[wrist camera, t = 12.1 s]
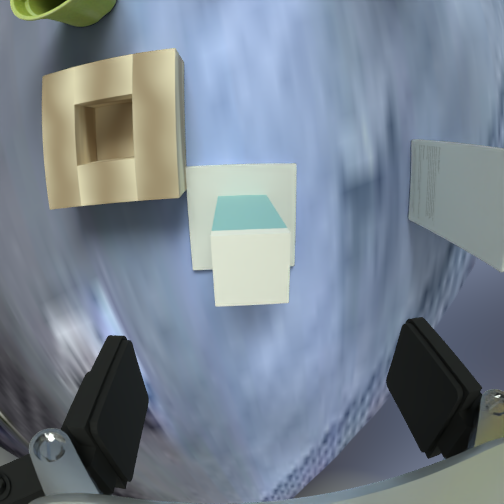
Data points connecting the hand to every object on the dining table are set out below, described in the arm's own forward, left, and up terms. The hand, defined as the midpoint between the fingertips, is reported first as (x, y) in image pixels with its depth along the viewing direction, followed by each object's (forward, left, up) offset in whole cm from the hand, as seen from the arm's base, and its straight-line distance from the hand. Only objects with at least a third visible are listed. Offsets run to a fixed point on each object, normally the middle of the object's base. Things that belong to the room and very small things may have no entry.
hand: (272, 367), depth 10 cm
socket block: (+11, -9, -21) cm, 25 cm away
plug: (0, 0, -21) cm, 21 cm away
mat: (0, 0, -21) cm, 21 cm away
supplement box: (-22, -4, -21) cm, 31 cm away
